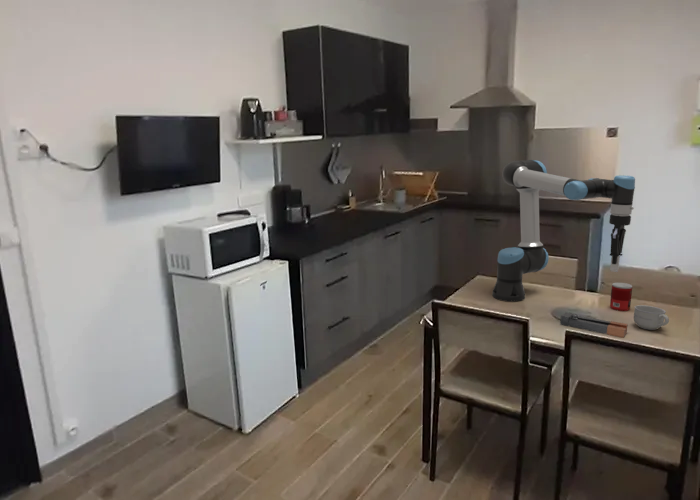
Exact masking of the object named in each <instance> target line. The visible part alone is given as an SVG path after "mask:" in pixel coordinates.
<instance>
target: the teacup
mask: <svg viewBox="0 0 700 500" xmlns="http://www.w3.org/2000/svg"><path fill="white" fill-rule="evenodd" d="M633 321H634V323H635V324H636V326H638V327H639V328H641V329H644V330H649V331H652V330H653V331H654V330H657V329H659V328H661V327H663V326H666V325H668V324H669V322H670V319H669V316H668V315H667V314H666V310H665V309H663V308H660V307H657V306H652V305H645V304H644V305H643V304H639V305H634V311H633Z"/></svg>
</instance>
